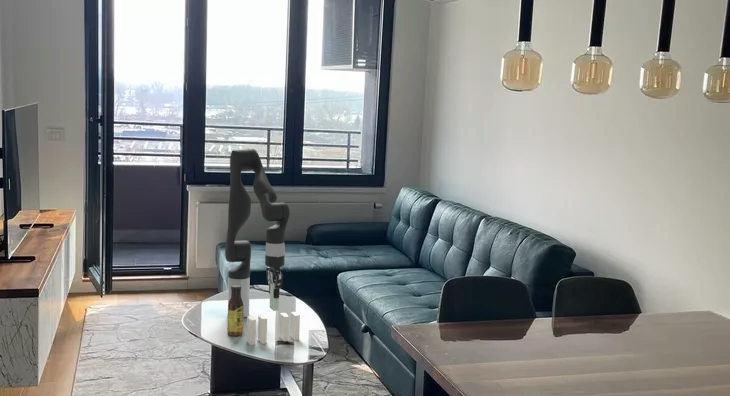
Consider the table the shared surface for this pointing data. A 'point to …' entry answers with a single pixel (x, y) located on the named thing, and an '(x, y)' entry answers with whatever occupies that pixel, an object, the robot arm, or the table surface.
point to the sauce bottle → (235, 312)
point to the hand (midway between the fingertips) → (274, 296)
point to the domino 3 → (273, 299)
